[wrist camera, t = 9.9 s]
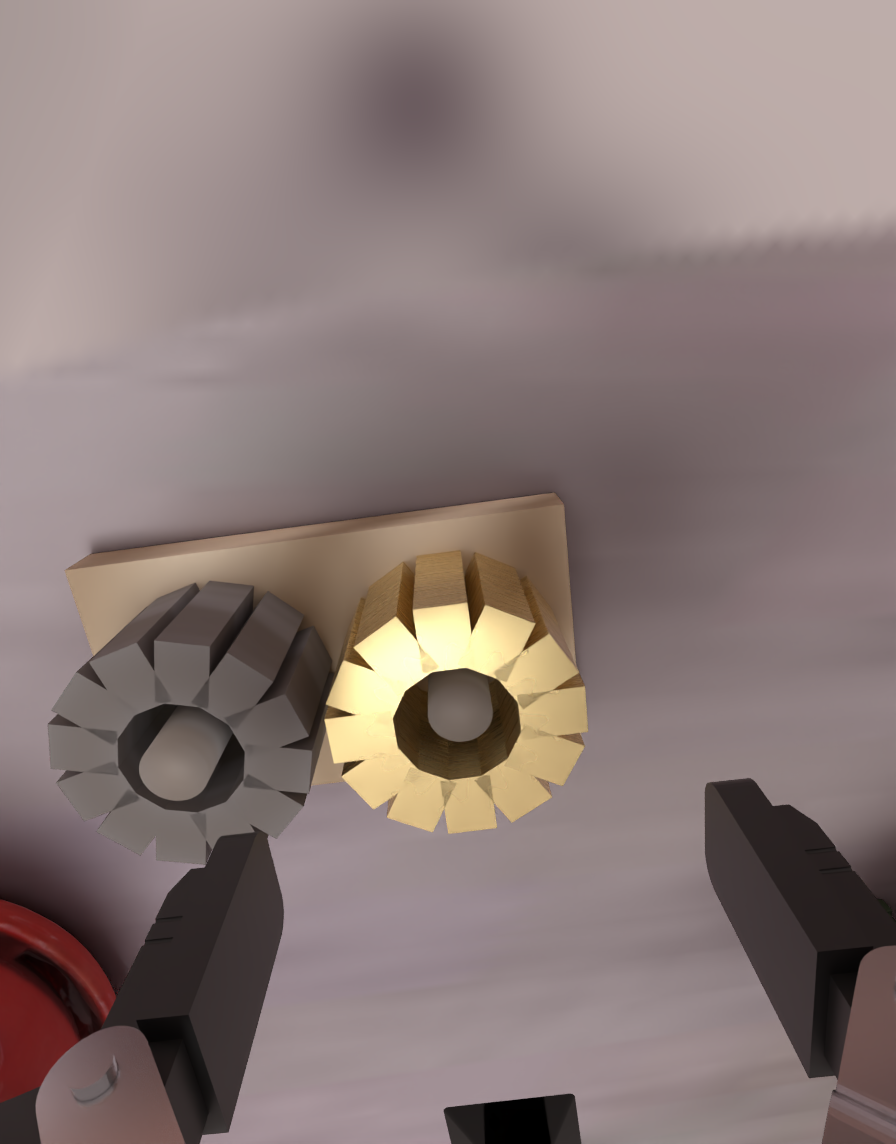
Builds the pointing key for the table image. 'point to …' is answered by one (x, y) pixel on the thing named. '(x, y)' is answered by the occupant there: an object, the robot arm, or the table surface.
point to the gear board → (334, 567)
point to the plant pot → (43, 997)
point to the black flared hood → (516, 1121)
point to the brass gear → (444, 642)
